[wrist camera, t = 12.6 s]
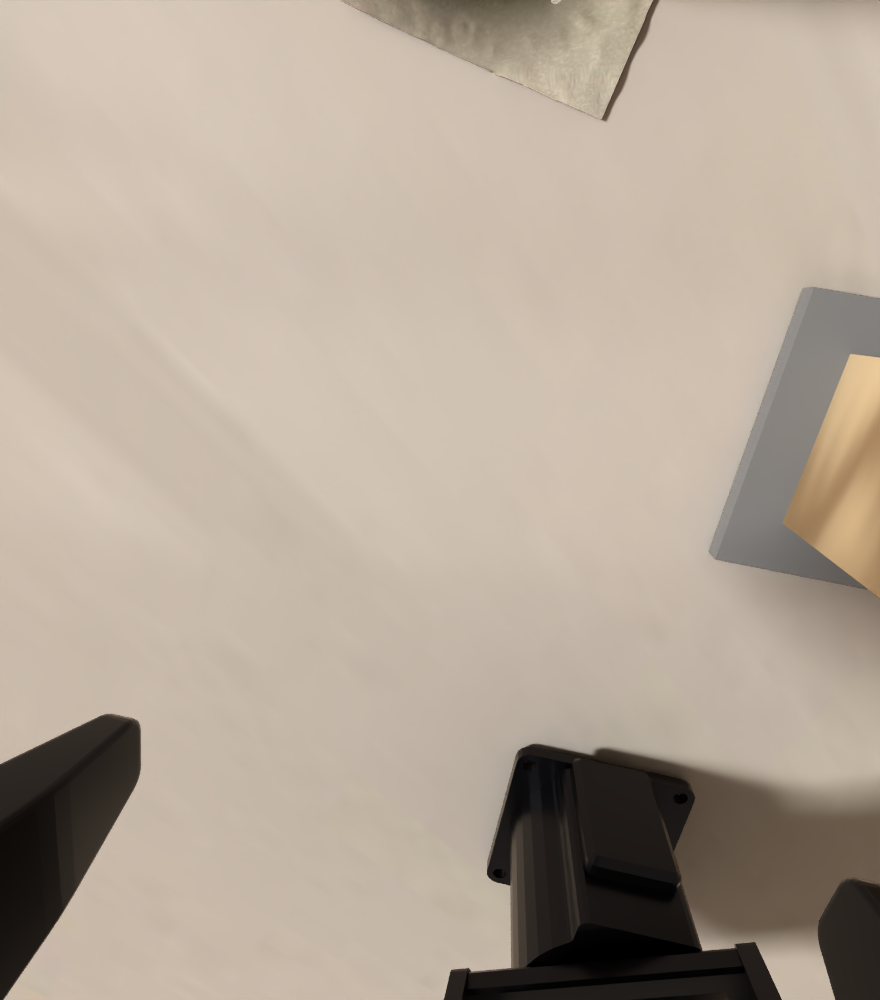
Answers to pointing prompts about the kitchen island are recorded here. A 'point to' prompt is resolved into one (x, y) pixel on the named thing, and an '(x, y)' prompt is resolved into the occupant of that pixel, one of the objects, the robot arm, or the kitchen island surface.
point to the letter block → (845, 478)
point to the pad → (794, 434)
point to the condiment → (529, 40)
